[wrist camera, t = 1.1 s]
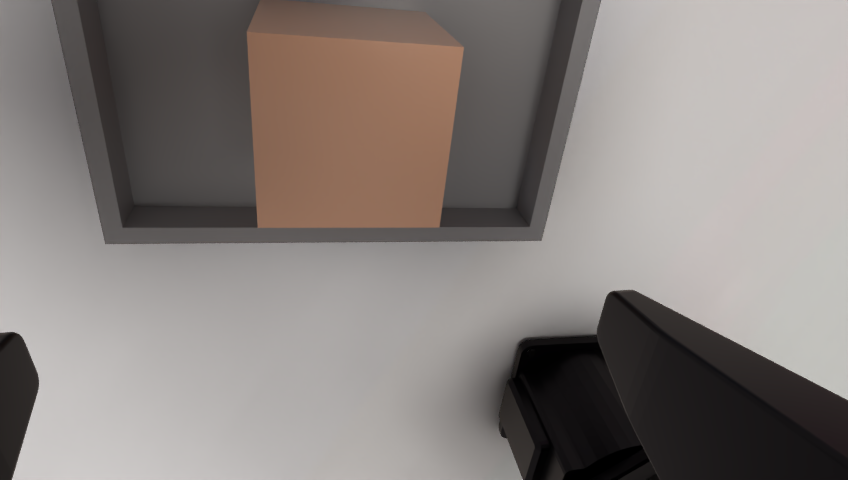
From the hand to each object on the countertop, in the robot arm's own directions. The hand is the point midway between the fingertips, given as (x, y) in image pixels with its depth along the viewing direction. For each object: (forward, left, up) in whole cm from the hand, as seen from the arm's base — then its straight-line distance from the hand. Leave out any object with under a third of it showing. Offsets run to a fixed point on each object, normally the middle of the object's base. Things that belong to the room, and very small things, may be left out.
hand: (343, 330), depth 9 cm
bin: (-1, -1, -12) cm, 12 cm away
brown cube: (-1, -1, -12) cm, 12 cm away
